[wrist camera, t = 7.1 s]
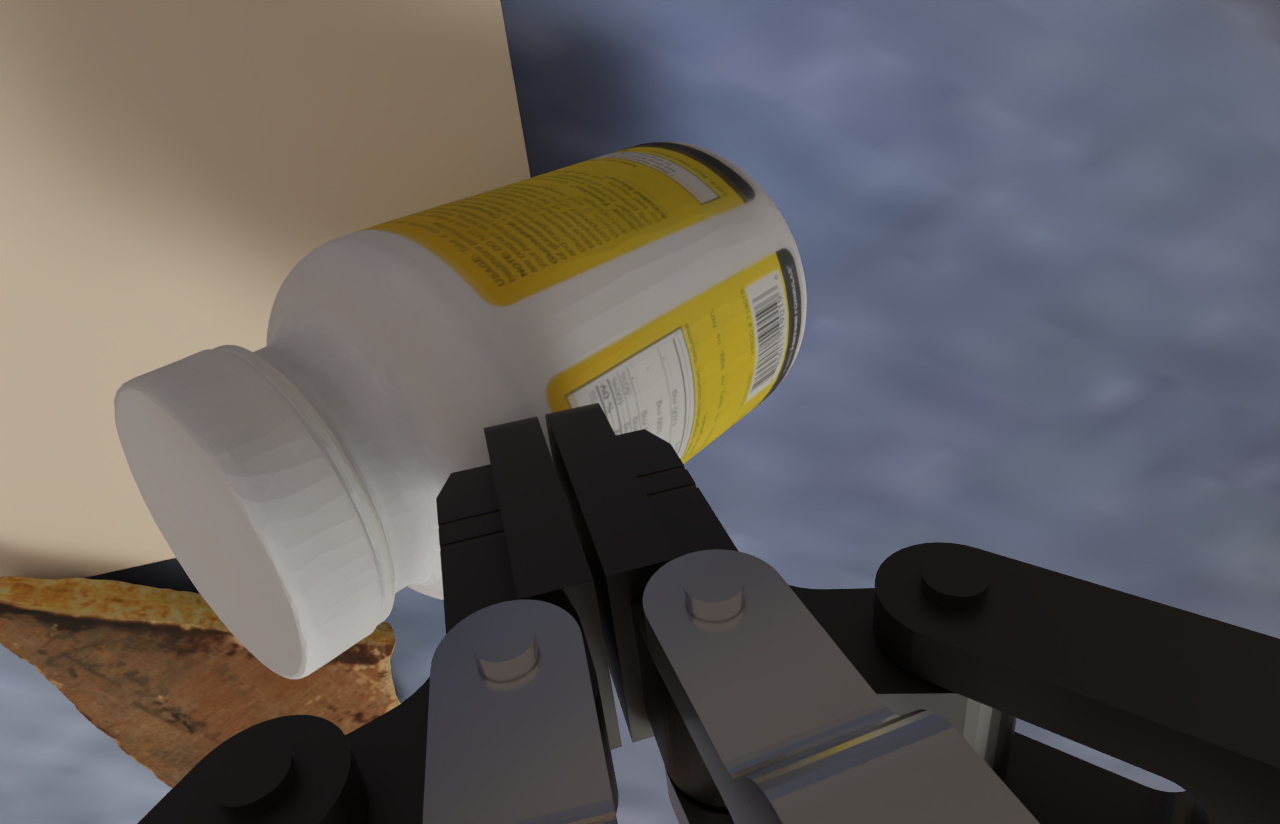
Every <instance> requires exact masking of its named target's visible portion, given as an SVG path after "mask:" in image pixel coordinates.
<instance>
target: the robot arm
mask: <svg viewBox="0 0 1280 824" xmlns="http://www.w3.org/2000/svg"><path fill="white" fill-rule="evenodd" d="M545 417H546V426H547V432H548V437H549V443H550V448H551V453H552V457H551V454H550V452H549V449H548V446H547V443H546V440H545V437H544V434H543V431H542V428H541V425H540V422H539V420H538V417H537V416H536V417H531V418H527V419H522V420H517V421H513V422H508V423H504V424H499V425H495V426H490V427H486V428H484V433H485V438H486V443H487V448H488V453H489V458H490V463H491V464H489V465H485V466H480V467H476V468H472V469H467V470H463V471H458V472H454V473H451V474H450V476H449V477H448V479H447V481H446V483H445V484H444V486H443V488H442V489H441V491H440V493H439V495H438V496H437V498H436V503H437V516H438V526H439V529H438V530H439V543H440V549H441V551H440V557H441V570H442V584H443V597H444V611H445V624H446V635H445V637H444V638H443V639H442V640H441V642H440V644H439V645H438V647H437V648H436V651H435V653H434V656H433V658H432V663H431V670H430V677H429V678H428V679H427V681H426V682H425V683H424V684H423V685H422V686H421V687H420V688H419V689H418V690H417V691H416V692H415V693H414V694H413V695H411V696H410V697H409V698H408V699H406V700H405V701H404V702H402V703H401V704H400V705H398V706H396V707H395V708H393V709H391V710H390V711H388V712H387V713H385V714H383V715H381V716H379V717H378V718H376V719H374V720H372V721H370V722H369V723H367V724H365V725H363V726H361V727H359V728H358V729H356V730H354V731H352V732H350V733H349V734H347V735H345V734H344V733H343V732H342V730H341V729H340V728H339V727H338V726H336V725H335V724H334V723H333V722H331V721H329V720H326V719H324V718H322V717H317V716H312V715H289V716H282V717H278V718H274V719H270V720H267V721H264V722H261V723H258V724H256V725H253V726H251V727H249V728H247V729H245V730H243V731H241V732H239V733H237V734H235V735H234V736H232V737H231V738H229V739H227V740H226V741H224V742H223V743H221V744H220V745H219V746H217V747H216V748H215V749H213V750H212V751H211V752H210V753H208V754H207V755H206V756H205V757H204V758H203V759H202V760H201V761H200V762H199V763H197V764H196V765H195V766H194V767H193V768H192V769H191V770H190V771H189V772H188V773H187V774H186V775H185V776H184V777H183V778H182V779H181V780H180V782H179V783H178V784H177V785H176V786H175V787H174V788H173V789H172V790H171V791H170V792H169V793H168V794H167V795H166V796H165V797H164V798H163V799H162V800H161V801H160V802H159V803H158V804H157V805H156V806H155V807H154V808H153V809H152V810H151V811H150V812H149V813H148V814H147V815H146V816H145V817H144V818H143V819H142V820H141V821H140V822H139V823H138V824H618V823H617V818H616V812H617V807H618V789H617V783H616V778H615V772H614V767H613V761H612V756H611V749H614V748H618V747H621V746H622V744H621V738H620V732H619V726H618V720H617V715H616V709H615V703H614V697H613V691H612V685H611V679H610V674H609V670H610V673H611V676H612V679H613V682H614V685H615V688H616V692H617V695H618V698H619V701H620V704H621V707H622V710H623V714H624V717H625V720H626V723H627V726H628V729H629V732H630V735H631V739H632V742H636V741H640V740H643V739H646V738H649V737H653V736H655V739H656V741H657V744H658V747H659V750H660V753H661V756H662V758H663V761H664V764H665V771H666V779H667V786H668V794H669V798H670V802H671V805H672V807H673V810H674V812H675V814H676V817H677V819H678V821H679V824H1280V639H1278V638H1275V637H1271V636H1268V635H1265V634H1261V633H1258V632H1255V631H1251V630H1248V629H1245V628H1241V627H1238V626H1235V625H1231V624H1228V623H1225V622H1221V621H1218V620H1215V619H1211V618H1208V617H1205V616H1201V615H1198V614H1195V613H1191V612H1188V611H1185V610H1181V609H1178V608H1175V607H1171V606H1168V605H1165V604H1161V603H1158V602H1155V601H1151V600H1148V599H1144V598H1141V597H1138V596H1134V595H1131V594H1128V593H1124V592H1121V591H1118V590H1114V589H1111V588H1108V587H1104V586H1101V585H1098V584H1094V583H1091V582H1088V581H1084V580H1081V579H1078V578H1074V577H1071V576H1068V575H1064V574H1061V573H1058V572H1054V571H1051V570H1048V569H1044V568H1041V567H1038V566H1034V565H1031V564H1028V563H1024V562H1021V561H1018V560H1014V559H1011V558H1008V557H1004V556H1001V555H998V554H994V553H991V552H988V551H984V550H981V549H978V548H974V547H970V546H966V545H960V544H953V543H938V542H937V543H924V544H918V545H913V546H910V547H907V548H904V549H901V550H899V551H897V552H895V553H893V554H892V555H891V556H889V557H888V558H887V559H886V560H885V561H884V562H883V563H882V564H881V565H880V567H879V569H878V571H877V574H876V579H875V588H865V589H807V588H799V587H794V586H790V585H788V584H787V583H786V582H785V581H784V579H783V578H782V577H781V576H780V574H779V573H778V572H777V571H776V570H775V569H774V568H773V567H772V566H770V565H769V564H767V563H766V562H765V561H763V560H761V559H759V558H757V557H755V556H752V555H749V554H746V553H743V552H739V551H738V550H737V548H736V547H735V545H734V544H733V542H732V540H731V539H730V537H729V536H728V534H727V532H726V531H725V529H724V528H723V526H722V525H721V523H720V521H719V520H718V518H717V517H716V515H715V513H714V512H713V510H712V509H711V507H710V505H709V504H708V502H707V501H706V499H705V498H704V496H703V494H702V493H701V491H700V490H699V488H698V487H697V488H696V485H695V482H694V480H693V479H692V477H691V475H690V474H689V472H688V471H687V469H686V470H685V468H684V464H683V463H682V461H681V459H680V458H679V456H678V455H677V453H676V452H675V450H674V448H673V447H672V445H671V444H670V443H668V442H667V441H665V440H663V439H661V438H659V437H658V436H656V435H654V434H652V433H651V432H649V431H647V430H645V429H642V430H638V431H633V432H629V433H624V434H620V435H615V433H614V431H613V429H612V427H611V425H610V423H609V421H608V419H607V417H606V415H605V414H604V412H603V410H602V408H601V406H600V404H599V403H594V404H590V405H585V406H581V407H576V408H572V409H567V410H562V411H558V412H553V413H549V414H546V415H545ZM552 459H553V460H552ZM608 667H609V668H608ZM1017 718H1019V719H1021V720H1024V721H1026V722H1029V723H1031V724H1033V725H1036V726H1038V727H1041V728H1043V729H1046V730H1048V731H1051V732H1053V733H1056V734H1058V735H1061V736H1063V737H1065V738H1068V739H1070V740H1073V741H1075V742H1078V743H1080V744H1083V745H1085V746H1088V747H1090V748H1093V749H1095V750H1097V751H1100V752H1102V753H1105V754H1107V755H1110V756H1112V757H1115V758H1117V759H1120V760H1122V761H1125V762H1127V763H1129V764H1132V765H1134V766H1137V767H1139V768H1142V769H1144V770H1147V771H1149V772H1152V773H1154V774H1157V775H1159V776H1161V777H1164V778H1166V779H1168V780H1170V781H1172V782H1174V783H1176V784H1177V785H1179V786H1181V787H1182V788H1184V789H1185V790H1186V791H1184V792H1164V791H1159V790H1155V789H1152V788H1149V787H1146V786H1144V785H1141V784H1139V783H1137V782H1134V781H1132V780H1129V779H1127V778H1125V777H1122V776H1120V775H1117V774H1115V773H1113V772H1110V771H1108V770H1105V769H1103V768H1101V767H1098V766H1096V765H1093V764H1091V763H1089V762H1086V761H1084V760H1081V759H1079V758H1077V757H1074V756H1072V755H1069V754H1067V753H1065V752H1062V751H1060V750H1057V749H1055V748H1053V747H1050V746H1048V745H1045V744H1043V743H1041V742H1038V741H1036V740H1033V739H1031V738H1029V737H1026V736H1024V735H1021V734H1019V733H1017V732H1014V730H1015V724H1016V719H1017Z"/></svg>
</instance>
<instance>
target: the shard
mask: <svg viewBox="0 0 1280 824" xmlns="http://www.w3.org/2000/svg"><path fill="white" fill-rule="evenodd" d="M0 643H1V644H2V645H3V646H4V647H5V648H7V649H9V650H10V651H11V652H12V653H14V654H16V655H17V656H18V657H20V658H21V659H24V660H26V661H27V662H29V663H30V664H32V665H34V666H35V667H36V668H37V669H38V671H39V672H40V673H41V674H43V675H44V676H45V677H46V678H47V679H48V680H49V681H50V682H51V683H53V684H54V685H55V686H56V687H57V688H58V690H60V691H61V692H62V693H63V694H64V695H65V696H66V697H67V698H68V699H69V700H70V701H71V702H72V703H73V704H74V705H75V706H76V708H77V710H78V711H79V712H80V713H82V714H83V715H84V716H85V717H86V718H87V719H88V720H89V721H90V722H91V723H92V724H94V725H95V726H96V727H97V728H98V729H100V730H101V731H103V732H104V733H106V734H107V735H108V736H110V737H111V738H113V739H114V740H116V742H117V744H118V746H119V747H120V748H121V749H122V750H123V751H124V752H125V753H127V754H128V755H129V756H131V757H132V758H133V759H134V760H136V761H137V762H139V763H140V764H142V765H143V766H145V767H147V768H148V769H150V770H151V771H152V772H153V773H154V774H155V776H156V777H157V778H158V779H160V780H161V781H162V782H164V783H165V784H167V785H168V786H170V787H171V788H174V787H175V786H176V785H177V784H178V783H179V782H180V780H181V779H182V778H183V777H184V776H185V775H186V774H187V773H188V772H189V771H190V770H191V769H192V768H193V767H194V766H195V765H196V764H197V763H199V762H200V761H201V760H202V759H203V758H204V757H205V756H206V755H207V754H208V753H210V752H211V751H212V750H213V749H215V748H216V747H217V746H219V745H220V744H221V743H223V742H224V741H226V740H227V739H229V738H231V737H232V736H234V735H235V734H237V733H239V732H241V731H243V730H245V729H247V728H249V727H251V726H253V725H256V724H258V723H261V722H264V721H267V720H270V719H274V718H278V717H282V716H289V715H312V716H317V717H322V718H324V719H326V720H329V721H331V722H333V723H334V724H335V725H336V726H338V727H339V728H340V729H341V730H342V732H343V733H344V734H345V735H347V734H349V733H350V732H352V731H354V730H356V729H358V728H359V727H361V726H363V725H365V724H367V723H369V722H370V721H372V720H374V719H376V718H378V717H379V716H381V715H383V714H385V713H387V712H388V711H390V710H391V709H393V708H395V707H396V706H398V705H400V704H401V703H400V701H399V699H398V698H397V696H396V694H395V687H394V684H393V681H392V676H391V663H390V657H391V655H392V653H393V651H394V647H395V636H394V631H393V630H392V627H391V626H390V624H389V623H384V622H382V623H380V624H379V625H377V627H376V629H375V630H374V631H373V633H371V634H370V635H369V636H367V637H365V638H364V639H362V640H361V641H359V642H357V643H356V644H354V645H353V646H351V647H350V648H349V649H347V650H346V651H344V652H343V653H341V654H340V655H338V656H337V657H336V658H334V659H333V660H331V661H330V662H328V663H327V664H325V665H324V666H322V667H321V668H319V669H317V670H316V671H314V672H313V673H311V674H310V675H308V676H306V677H303V678H301V679H289V678H285V677H283V676H281V675H279V674H277V673H275V672H273V671H272V670H270V669H269V668H268V667H266V666H265V665H264V664H263V663H261V662H260V661H259V660H258V659H257V658H256V657H255V656H254V655H253V654H252V653H251V652H249V651H248V650H247V649H246V648H245V647H244V646H243V644H242V643H241V642H240V641H239V640H238V639H237V638H236V637H235V636H234V635H233V634H232V633H231V632H230V631H229V629H228V628H227V627H226V626H225V625H224V623H223V622H222V621H221V620H220V619H219V617H218V616H217V615H216V614H215V612H214V611H213V610H212V609H211V607H210V606H209V605H208V603H207V602H206V601H205V599H204V598H203V597H202V595H201V594H199V593H194V592H189V591H176V590H173V589H165V588H155V587H150V586H143V585H136V584H130V583H126V582H122V581H115V580H94V579H86V578H77V577H71V578H63V579H56V580H55V579H38V578H30V577H11V576H3V577H0Z"/></svg>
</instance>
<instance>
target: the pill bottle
mask: <svg viewBox="0 0 1280 824" xmlns="http://www.w3.org/2000/svg"><path fill="white" fill-rule="evenodd" d="M806 304H807V295H806V283H805V276H804V271H803V266H802V262H801V259H800V255H799V252H798V249H797V246H796V243H795V241H794V238H793V236H792V234H791V232H790V230H789V227H788V225H787V223H786V222H785V220H784V218H783V216H782V215H781V213H780V211H779V210H778V208H777V207H776V206H775V204H774V203H773V201H772V200H771V198H770V197H769V196H768V195H767V194H766V192H765V191H764V190H763V189H762V188H761V187H760V186H759V185H758V184H757V183H756V182H755V181H754V180H753V179H752V178H751V177H750V176H749V175H748V174H747V173H745V172H744V171H743V170H742V169H740V168H739V167H738V166H736V165H735V164H733V163H732V162H730V161H729V160H727V159H726V158H724V157H722V156H720V155H718V154H716V153H714V152H712V151H710V150H707V149H704V148H702V147H699V146H695V145H691V144H687V143H680V142H652V143H646V144H640V145H637V146H634V147H630V148H626V149H622V150H619V151H616V152H613V153H610V154H606V155H603V156H600V157H596V158H593V159H590V160H587V161H584V162H580V163H577V164H574V165H571V166H567V167H564V168H561V169H558V170H554V171H551V172H548V173H545V174H541V175H538V176H535V177H532V178H528V179H525V180H522V181H519V182H515V183H512V184H509V185H506V186H502V187H499V188H496V189H493V190H489V191H486V192H483V193H480V194H476V195H473V196H470V197H467V198H463V199H460V200H457V201H454V202H450V203H447V204H444V205H440V206H437V207H434V208H431V209H427V210H424V211H421V212H417V213H414V214H411V215H407V216H404V217H401V218H397V219H394V220H391V221H388V222H385V223H381V224H378V225H375V226H372V227H369V228H365V229H362V230H359V231H356V232H353V233H350V234H347V235H344V236H341V237H338V238H336V239H333V240H331V241H328V242H326V243H324V244H322V245H320V246H319V247H317V248H315V249H314V250H312V251H311V252H310V253H309V254H307V255H306V256H305V257H304V258H303V259H301V260H300V261H299V262H298V263H297V264H296V266H295V267H294V268H293V269H292V270H291V271H290V273H289V274H288V276H287V277H286V278H285V280H284V281H283V283H282V285H281V287H280V289H279V291H278V293H277V295H276V298H275V301H274V303H273V306H272V309H271V313H270V318H269V323H268V329H267V340H266V347H264V348H262V349H259V350H257V351H255V352H252V351H250V350H247V349H245V348H243V347H240V346H237V345H223V346H219V347H216V348H213V349H207V350H202V351H200V352H198V353H195V354H193V355H190V356H188V357H186V358H183V359H181V360H178V361H176V362H173V363H171V364H168V365H166V366H163V367H161V368H158V369H155V370H153V371H150V372H148V373H145V374H143V375H140V376H138V377H135V378H133V379H131V380H129V381H127V382H125V383H123V384H122V385H121V387H120V388H119V389H118V390H117V392H116V396H115V399H114V409H115V423H116V428H117V432H118V436H119V439H120V442H121V445H122V448H123V451H124V454H125V457H126V460H127V462H128V465H129V468H130V471H131V473H132V476H133V478H134V480H135V482H136V484H137V486H138V488H139V491H140V493H141V495H142V497H143V500H144V502H145V504H146V506H147V508H148V510H149V512H150V513H151V515H152V517H153V519H154V521H155V523H156V525H157V526H158V528H159V530H160V532H161V533H162V535H163V537H164V538H165V540H166V542H167V543H168V545H169V547H170V549H171V550H172V552H173V554H174V555H175V557H176V558H177V560H178V561H179V563H180V564H181V566H182V568H183V569H184V571H185V572H186V574H187V575H188V577H189V578H190V580H191V581H192V583H193V584H194V586H195V587H196V589H197V590H198V592H199V593H200V594H201V595H202V597H203V598H204V599H205V601H206V602H207V603H208V605H209V606H210V607H211V609H212V610H213V611H214V612H215V614H216V615H217V616H218V617H219V619H220V620H221V621H222V622H223V623H224V625H225V626H226V627H227V628H228V629H229V631H230V632H231V633H232V634H233V635H234V636H235V637H236V638H237V639H238V640H239V641H240V642H241V643H242V644H243V646H244V647H245V648H246V649H247V650H248V651H249V652H251V653H252V654H253V655H254V656H255V657H256V658H257V659H258V660H259V661H260V662H261V663H263V664H264V665H265V666H266V667H268V668H269V669H270V670H272V671H273V672H275V673H277V674H279V675H281V676H283V677H285V678H289V679H301V678H303V677H306V676H308V675H310V674H311V673H313V672H314V671H316V670H317V669H319V668H321V667H322V666H324V665H325V664H327V663H328V662H330V661H331V660H333V659H334V658H336V657H337V656H338V655H340V654H341V653H343V652H344V651H346V650H347V649H349V648H350V647H351V646H353V645H354V644H356V643H357V642H359V641H361V640H362V639H364V638H365V637H367V636H369V635H370V634H371V633H373V631H374V630H375V629H376V627H377V625H379V624H380V623H382V622H383V621H384V620H386V618H387V617H388V616H389V615H390V612H391V610H392V607H393V604H394V598H395V593H397V592H398V591H400V590H401V589H403V588H404V587H406V586H408V587H409V588H411V589H413V590H415V591H418V592H420V593H422V594H425V595H427V596H431V597H434V598H437V599H442V600H444V597H443V584H442V570H441V557H440V551H441V549H440V543H439V530H438V529H439V526H438V516H437V503H436V498H437V496H438V495H439V493H440V491H441V489H442V488H443V486H444V484H445V483H446V481H447V479H448V477H449V476H450V474H451V473H454V472H458V471H463V470H467V469H472V468H476V467H480V466H485V465H489V464H491V463H490V458H489V453H488V448H487V443H486V438H485V433H484V428H486V427H490V426H495V425H499V424H504V423H508V422H513V421H517V420H522V419H527V418H531V417H536V416H537V417H538V420H539V422H540V425H541V428H542V431H543V434H544V437H545V440H546V443H547V446H548V449H549V452H550V454H551V457H552V453H551V448H550V443H549V437H548V432H547V426H546V417H545V415H546V414H549V413H553V412H558V411H562V410H567V409H572V408H576V407H581V406H585V405H590V404H594V403H599V404H600V406H601V408H602V410H603V412H604V414H605V415H606V417H607V419H608V421H609V423H610V425H611V427H612V429H613V431H614V433H615V435H620V434H624V433H629V432H633V431H638V430H642V429H645V430H647V431H649V432H651V433H652V434H654V435H656V436H658V437H659V438H661V439H663V440H665V441H667V442H668V443H670V444H671V445H672V447H673V448H674V450H675V452H676V453H677V455H678V456H679V458H680V459H681V461H682V463H683V464H684V463H686V462H687V461H688V460H689V459H691V458H692V457H693V456H694V455H696V454H697V453H698V452H699V451H700V450H702V449H703V448H704V447H706V446H707V445H708V444H709V443H711V442H712V441H713V440H714V439H716V438H717V437H718V436H720V435H721V434H722V433H723V432H725V431H726V430H727V429H728V428H730V427H731V426H732V425H733V424H735V423H736V422H737V421H739V420H740V419H741V418H742V417H744V416H745V415H746V414H747V413H748V412H750V411H751V410H752V409H754V408H755V407H756V406H758V405H759V404H760V403H761V402H762V401H764V400H765V399H766V398H767V397H768V396H769V395H770V394H771V393H772V392H773V391H774V390H775V389H776V388H777V387H778V385H779V384H780V383H781V382H782V381H783V379H784V378H785V377H786V375H787V373H788V372H789V370H790V368H791V367H792V365H793V363H794V361H795V358H796V356H797V354H798V351H799V349H800V345H801V342H802V338H803V334H804V329H805V321H806ZM552 460H553V459H552Z"/></svg>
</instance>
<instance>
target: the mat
mask: <svg viewBox="0 0 1280 824" xmlns="http://www.w3.org/2000/svg"><path fill="white" fill-rule="evenodd" d="M528 178H531V177H530V171H529V165H528V159H527V154H526V148H525V142H524V136H523V130H522V125H521V119H520V113H519V107H518V101H517V95H516V90H515V84H514V78H513V72H512V66H511V60H510V55H509V49H508V43H507V37H506V31H505V25H504V20H503V14H502V8H501V2H500V0H0V577H3V576H11V577H30V578H38V579H55V580H56V579H63V578H71V577H77V578H86V577H90V576H95V575H99V574H104V573H108V572H113V571H118V570H122V569H127V568H131V567H136V566H140V565H145V564H150V563H154V562H159V561H163V560H168V559H172V558H176V557H175V555H174V554H173V552H172V550H171V549H170V547H169V545H168V543H167V542H166V540H165V538H164V537H163V535H162V533H161V532H160V530H159V528H158V526H157V525H156V523H155V521H154V519H153V517H152V515H151V513H150V512H149V510H148V508H147V506H146V504H145V502H144V500H143V497H142V495H141V493H140V491H139V488H138V486H137V484H136V482H135V480H134V478H133V476H132V473H131V471H130V468H129V465H128V462H127V460H126V457H125V454H124V451H123V448H122V445H121V442H120V439H119V436H118V432H117V428H116V423H115V409H114V399H115V396H116V392H117V390H118V389H119V388H120V387H121V385H122V384H123V383H125V382H127V381H129V380H131V379H133V378H135V377H138V376H140V375H143V374H145V373H148V372H150V371H153V370H155V369H158V368H161V367H163V366H166V365H168V364H171V363H173V362H176V361H178V360H181V359H183V358H186V357H188V356H190V355H193V354H195V353H198V352H200V351H202V350H207V349H213V348H216V347H219V346H223V345H237V346H240V347H243V348H245V349H247V350H250V351H252V352H255V351H257V350H259V349H262V348H264V347H266V340H267V329H268V323H269V318H270V313H271V309H272V306H273V303H274V301H275V298H276V295H277V293H278V291H279V289H280V287H281V285H282V283H283V281H284V280H285V278H286V277H287V276H288V274H289V273H290V271H291V270H292V269H293V268H294V267H295V266H296V264H297V263H298V262H299V261H300V260H301V259H303V258H304V257H305V256H306V255H307V254H309V253H310V252H311V251H312V250H314V249H315V248H317V247H319V246H320V245H322V244H324V243H326V242H328V241H331V240H333V239H336V238H338V237H341V236H344V235H347V234H350V233H353V232H356V231H359V230H362V229H365V228H369V227H372V226H375V225H378V224H381V223H385V222H388V221H391V220H394V219H397V218H401V217H404V216H407V215H411V214H414V213H417V212H421V211H424V210H427V209H431V208H434V207H437V206H440V205H444V204H447V203H450V202H454V201H457V200H460V199H463V198H467V197H470V196H473V195H476V194H480V193H483V192H486V191H489V190H493V189H496V188H499V187H502V186H506V185H509V184H512V183H515V182H519V181H522V180H525V179H528Z"/></svg>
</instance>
